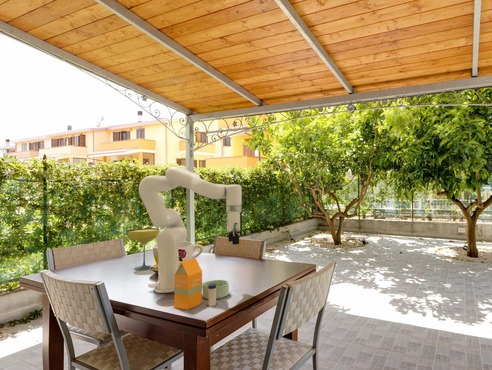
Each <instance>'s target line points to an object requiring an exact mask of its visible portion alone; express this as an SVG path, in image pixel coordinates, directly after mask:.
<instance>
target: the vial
mask: <svg viewBox="0 0 492 370" xmlns="http://www.w3.org/2000/svg"><path fill="white" fill-rule="evenodd" d="M207 300H208V302H207V303H208V305H207V306H209V307H214V306H216V305H217V299H216V284H209V285H208V299H207Z"/></svg>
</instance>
